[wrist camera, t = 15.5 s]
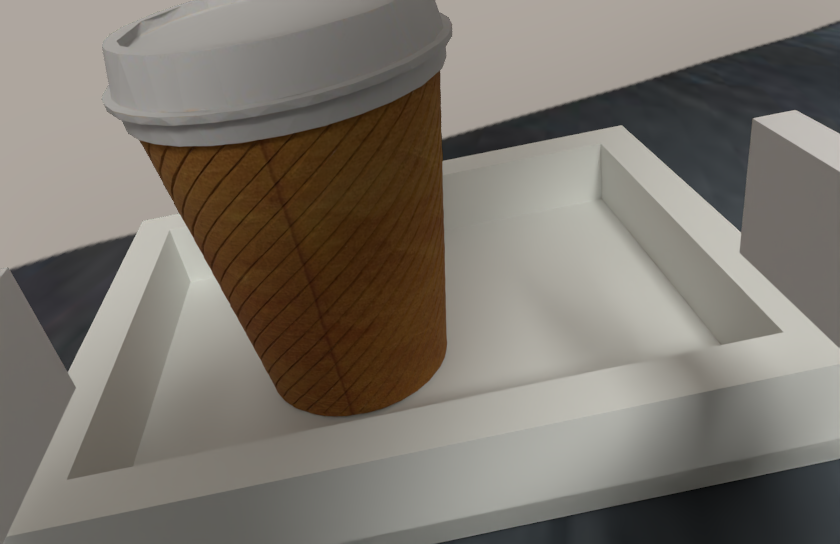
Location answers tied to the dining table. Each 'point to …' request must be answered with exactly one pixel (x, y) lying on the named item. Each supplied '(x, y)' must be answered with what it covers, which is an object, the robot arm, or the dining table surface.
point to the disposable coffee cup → (305, 178)
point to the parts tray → (453, 377)
